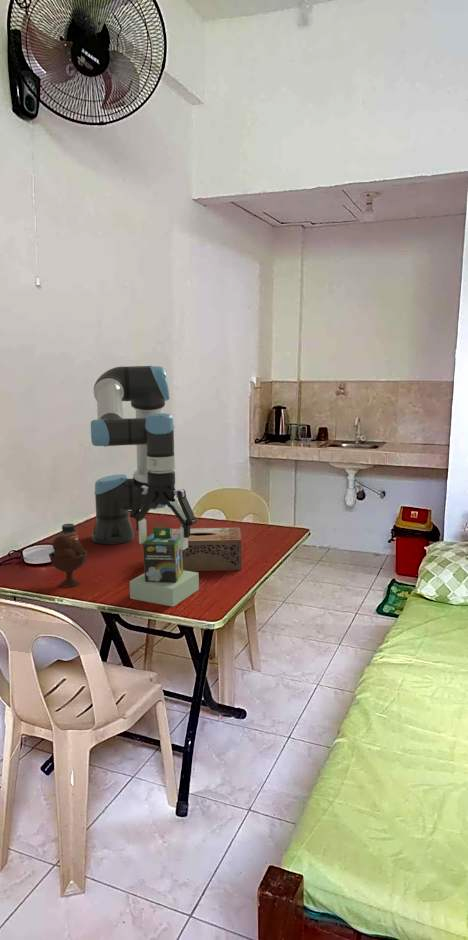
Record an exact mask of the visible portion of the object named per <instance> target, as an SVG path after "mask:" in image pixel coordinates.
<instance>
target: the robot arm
mask: <svg viewBox="0 0 468 940" xmlns="http://www.w3.org/2000/svg"><path fill="white" fill-rule="evenodd" d="M93 395H94V396H93V397H94V399H95V400H96V407H97V411H96V412H97V419H92V420H91V421H90V439H91V444H92V445H93V446H94V447H112V446H113V447H115V446H116V447H117V446H136V469H137V470H136V471H134V472H133V475H132V477H131V478H128V476H127V474H114V475H108V476H107V475H106V476H104V477H100V478H98V479H97V480H96V481H95V484H94V495H95V497H94V498H95V519H96V520H95V523H94V526H93V527H94V528H93V531H92V541H93V542H94V543H95V542H96V544H99V545H119V544H120V545H121V544H125V543H127V542H131V541H132V540H134V539H135V532H134V531H135V530H134V529H133V527H132V523H131V520H130V518H133V519H135V521H136V531H137V532H138V543H139V544H140V545H143V543H144V541H145V540H146V538H147V537H148V533H147V519H146V518H145V517H146V515H147V514H148V513H149V512H150V510H156V509H157V510H158V509H164V508H165V507H166V506H167V507H168V508H170V510H171V511H172V512H173V514H174V515H175V516H176V519H178V521H179V523H180V524H181V525H180V528H179V529H180V538H181V550H184V549H186V548H188V537H190V528H191V526H192V525H195V524H196V523H197V518H196V516H195V514H194V512H193V509H192V508H191V505H190V503H189V500H188V498H187V494H186V489H184V488H182V489H180V490H179V489H176V487H175V485H176V472H175V468H176V465H175V464H176V463H175V462H176V461H175V438H174V437H175V433H174V432H175V431H174V430H175V425H174V418H173V417H174V416H173V415H172V414H170V413H163V412H161V410H163V408H164V407H165V406H166V402H167V401H169V400H170V389H169V383H168V378H167V373H166V370H165V368H164V367H162V366H159V365H156V366H154V365H138V366H137V365H134V366H117V367H116V366H115V367H112V368H109V369H108V370H106V371H105V372H103V373H102V374H101V375H100V376H99V377H97V379H96V381H95V383H94V385H93ZM123 402H130V406H131V407H132V408H133V409H134V410H135V418H133V417H131V418H124V411H123ZM129 511H130V513H129Z"/></svg>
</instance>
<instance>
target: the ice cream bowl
mask: <svg viewBox="0 0 468 940" xmlns="http://www.w3.org/2000/svg"><path fill="white" fill-rule="evenodd" d="M51 545H52V548H53V551H51V552H50V553H49V554H48V556H49V560H50V562H51V564H52V566H53V567H54V568H55V569H57V570H58V571H61V572H65V574H66V579H64V580H62V581H61V582H60V584H61V585H62V586H74V587H77V586H78V584H79V585H80V582H79V579H75V578H74V577H73V572H74V571H76V570H78V569H80V567H82V566H83V564H85V563H86V561H87V557H88V551H87V550H86V549H84V546H83V544H82V543H81V542H80V541H79V539H78V540H76V539H72V538H70V537H69V536H65V535H61V536H60V535H59V536H56V537H55V538H54V540H53V541H52V544H51ZM61 585H60V586H61ZM76 585H77V586H76Z"/></svg>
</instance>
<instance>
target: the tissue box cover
mask: <svg viewBox="0 0 468 940" xmlns="http://www.w3.org/2000/svg"><path fill="white" fill-rule="evenodd" d="M163 533H166V532H165V531H162V530H160V534H163ZM170 533H177V534H180V528H170ZM182 557H183V570H184V571H191V572H200V571H201V572H202V571H203V572H205V571H206V572H207V571H210V572H211V571H242V567H243V566H242V535H241V528H240V527H199V528H196V527H193V528H191V527H190V537H188V548H186V549H184V550H182Z"/></svg>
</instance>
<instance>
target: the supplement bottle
mask: <svg viewBox="0 0 468 940" xmlns="http://www.w3.org/2000/svg"><path fill="white" fill-rule="evenodd" d="M61 535H65V536H69V537H70V538H72V539H76V540H78V541H79V532H78V531H77V530H76V529H75V524H74V523H64V524H62V526H61V531H60V532H59V536H61Z"/></svg>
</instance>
